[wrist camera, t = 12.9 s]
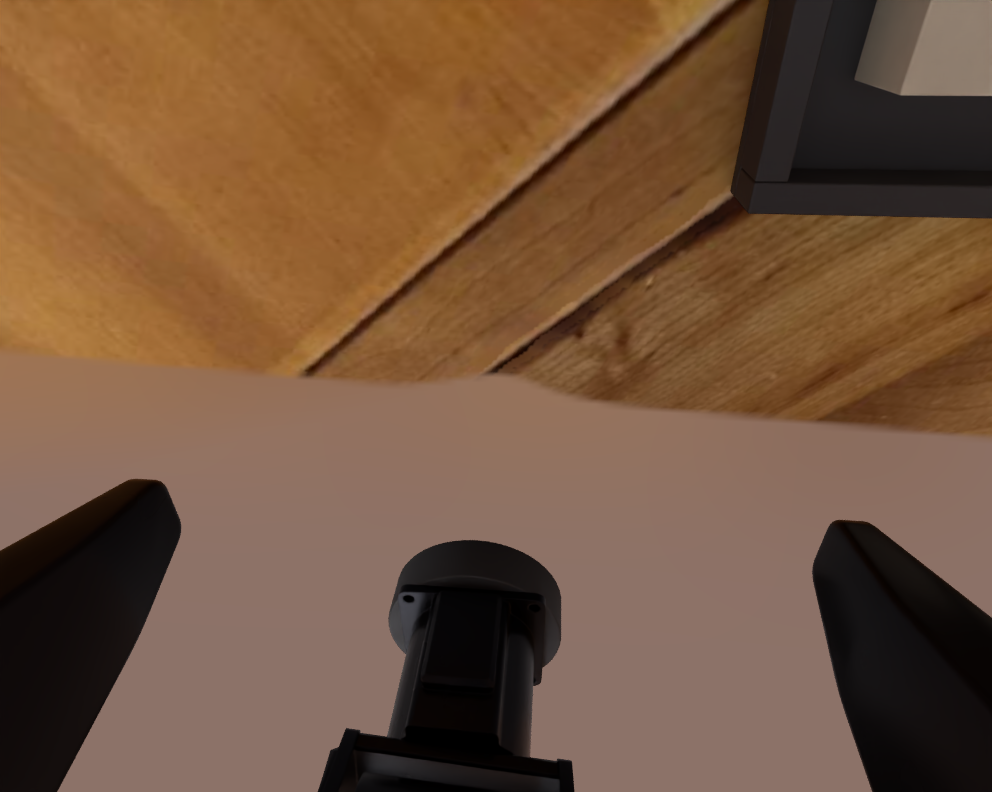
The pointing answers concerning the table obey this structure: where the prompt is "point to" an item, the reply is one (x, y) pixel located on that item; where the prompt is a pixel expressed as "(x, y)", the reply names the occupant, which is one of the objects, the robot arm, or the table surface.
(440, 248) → the table surface
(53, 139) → the table surface
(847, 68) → the tray
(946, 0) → the loose pad
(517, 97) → the table surface
